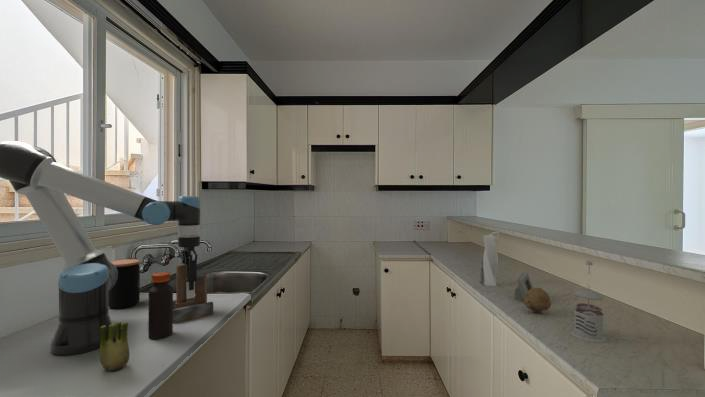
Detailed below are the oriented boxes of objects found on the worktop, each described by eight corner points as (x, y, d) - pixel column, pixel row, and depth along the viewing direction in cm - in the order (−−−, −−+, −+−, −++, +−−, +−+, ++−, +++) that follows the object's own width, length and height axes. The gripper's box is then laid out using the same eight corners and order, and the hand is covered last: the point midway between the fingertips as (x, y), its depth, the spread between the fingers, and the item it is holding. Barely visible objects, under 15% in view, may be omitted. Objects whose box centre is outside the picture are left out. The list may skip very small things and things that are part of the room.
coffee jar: (144, 304, 134) (144, 261, 134) (115, 311, 125) (115, 265, 125) (132, 299, 140) (132, 258, 140) (103, 306, 131) (103, 262, 131)
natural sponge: (556, 315, 125) (557, 290, 125) (539, 318, 122) (540, 292, 122) (536, 307, 134) (536, 284, 134) (520, 310, 131) (520, 285, 131)
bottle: (175, 335, 105) (176, 274, 105) (152, 342, 100) (152, 277, 100) (168, 329, 109) (168, 270, 109) (145, 335, 104) (145, 274, 104)
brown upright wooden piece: (204, 311, 124) (205, 264, 124) (174, 313, 122) (174, 265, 121) (207, 307, 127) (207, 262, 127) (177, 309, 125) (177, 263, 125)
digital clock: (529, 304, 138) (529, 280, 138) (507, 299, 144) (508, 276, 144) (542, 297, 149) (542, 274, 149) (521, 292, 155) (521, 270, 155)
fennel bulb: (97, 373, 82) (97, 326, 82) (111, 363, 87) (111, 319, 87) (119, 373, 82) (119, 326, 82) (132, 363, 87) (132, 319, 87)
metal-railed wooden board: (172, 323, 114) (172, 310, 114) (164, 313, 124) (164, 301, 124) (213, 314, 123) (213, 302, 123) (203, 305, 133) (203, 294, 133)
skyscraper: (496, 283, 172) (497, 231, 172) (500, 287, 164) (501, 233, 164) (479, 282, 173) (480, 231, 173) (483, 286, 165) (483, 232, 165)
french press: (598, 345, 100) (600, 265, 100) (558, 331, 110) (560, 259, 110) (612, 338, 105) (613, 262, 105) (572, 325, 115) (573, 256, 115)
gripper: (206, 237, 119) (206, 300, 120) (193, 233, 133) (193, 289, 133) (184, 239, 114) (183, 304, 115) (173, 234, 128) (172, 292, 128)
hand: (188, 296), depth 124 cm, fingers closed on brown upright wooden piece, 5 cm apart
